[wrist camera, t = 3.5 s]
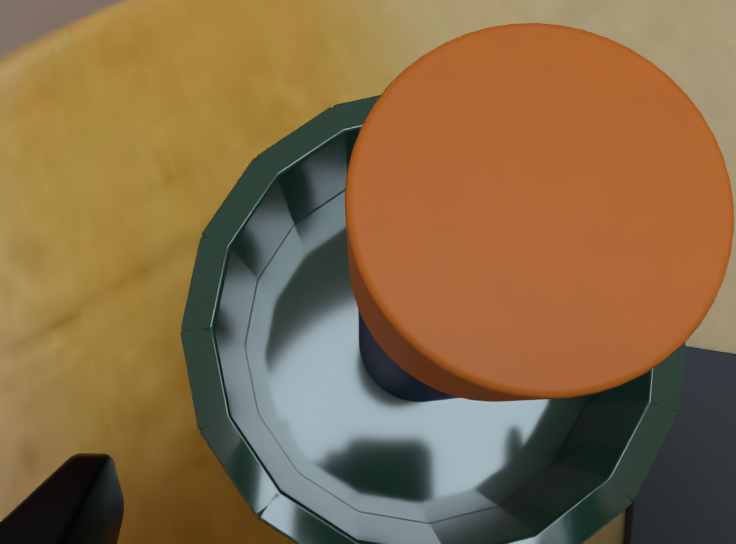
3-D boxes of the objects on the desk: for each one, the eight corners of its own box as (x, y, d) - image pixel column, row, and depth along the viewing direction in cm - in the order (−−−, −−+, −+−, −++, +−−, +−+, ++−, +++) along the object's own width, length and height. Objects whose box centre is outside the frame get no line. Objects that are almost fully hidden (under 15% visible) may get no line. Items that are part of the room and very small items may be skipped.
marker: (475, 415, 18) (725, 431, 6) (345, 394, 18) (313, 363, 6) (491, 287, 19) (749, 49, 6) (366, 267, 19) (377, -7, 6)
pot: (589, 576, 18) (665, 631, 13) (189, 509, 18) (134, 541, 14) (625, 190, 20) (702, 127, 15) (265, 134, 20) (238, 55, 16)
